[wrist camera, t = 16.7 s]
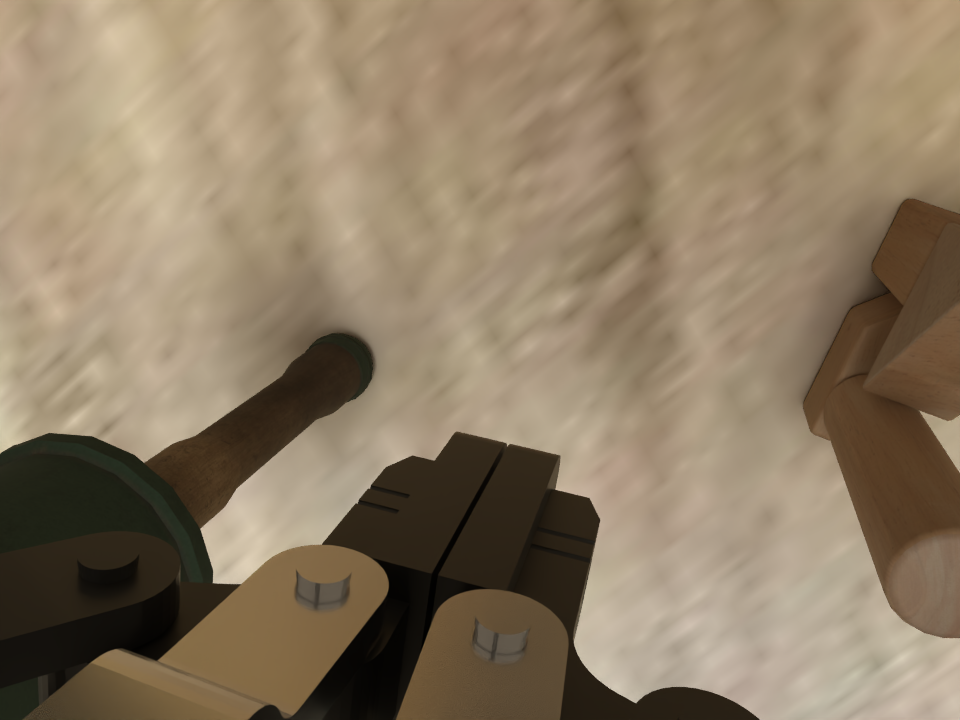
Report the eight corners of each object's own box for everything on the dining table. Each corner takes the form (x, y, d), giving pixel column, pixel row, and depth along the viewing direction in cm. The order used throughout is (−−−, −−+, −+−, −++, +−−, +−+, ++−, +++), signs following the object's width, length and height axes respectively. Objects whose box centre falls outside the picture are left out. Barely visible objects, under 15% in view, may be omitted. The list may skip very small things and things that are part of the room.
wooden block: (986, 223, 37) (1210, 334, 21) (872, 433, 41) (985, 668, 25) (902, 194, 38) (1056, 281, 21) (798, 405, 42) (860, 617, 25)
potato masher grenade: (364, 463, 49) (-86, 962, 21) (247, 364, 49) (-358, 735, 21) (452, 357, 45) (57, 785, 18) (327, 252, 45) (-264, 514, 18)
